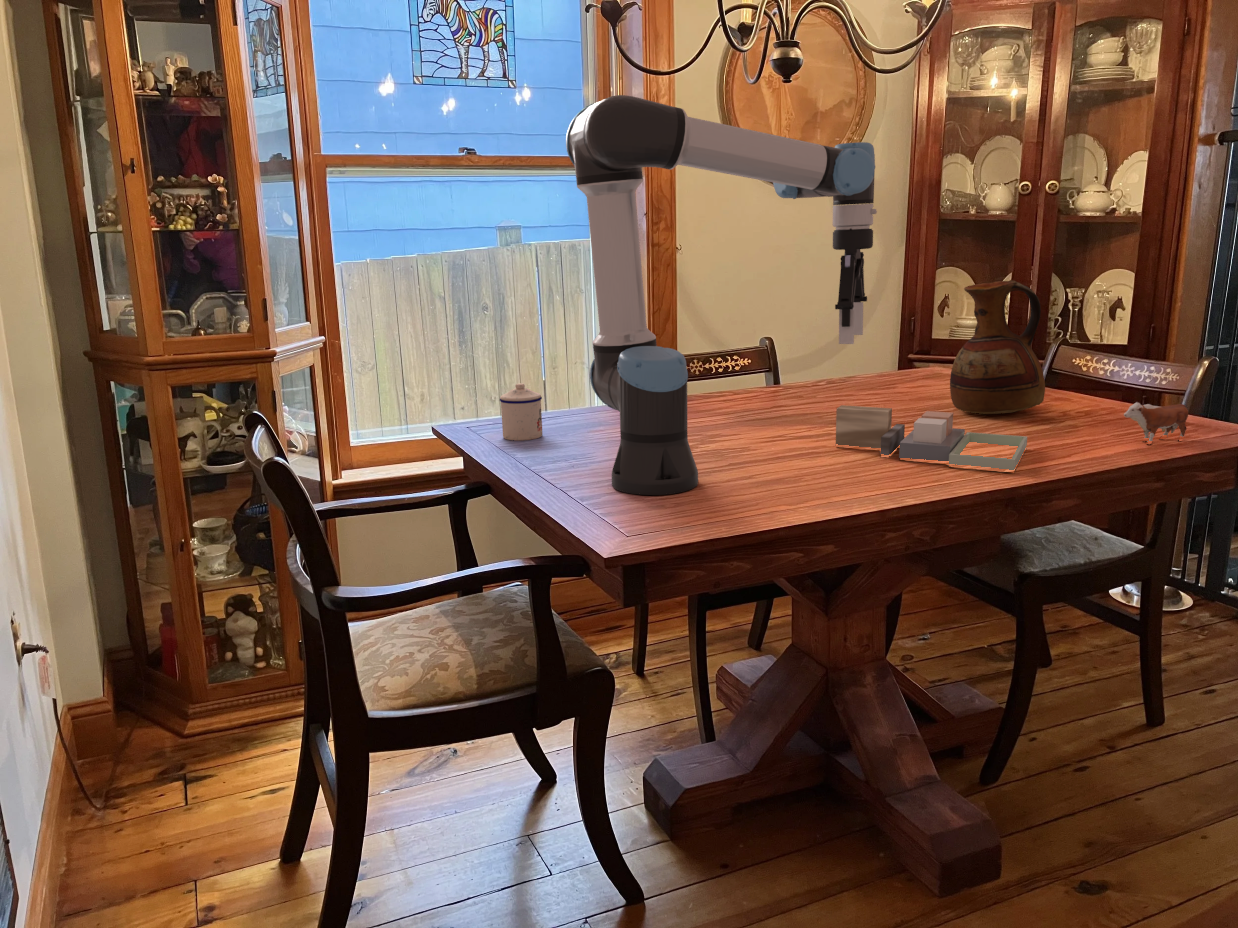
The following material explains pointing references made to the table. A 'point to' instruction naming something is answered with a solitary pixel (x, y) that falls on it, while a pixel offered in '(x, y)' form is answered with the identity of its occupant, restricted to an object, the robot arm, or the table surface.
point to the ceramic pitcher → (997, 357)
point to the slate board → (930, 447)
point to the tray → (988, 461)
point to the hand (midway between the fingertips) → (851, 339)
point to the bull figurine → (1158, 418)
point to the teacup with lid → (521, 414)
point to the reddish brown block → (941, 415)
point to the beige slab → (868, 428)
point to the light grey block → (929, 430)
